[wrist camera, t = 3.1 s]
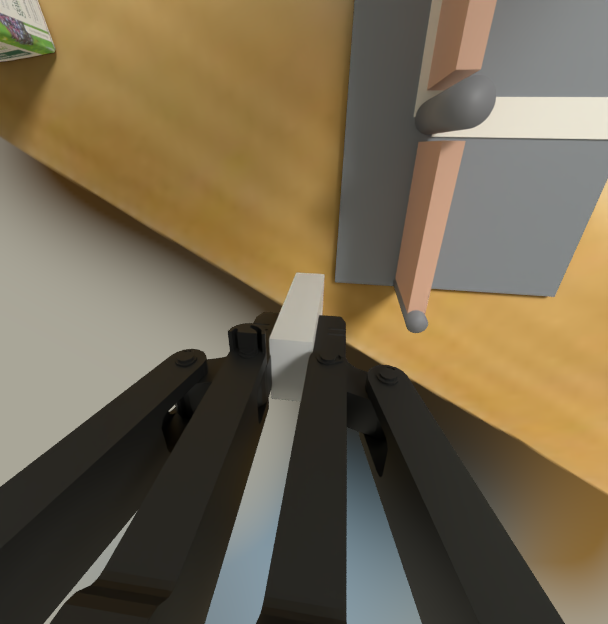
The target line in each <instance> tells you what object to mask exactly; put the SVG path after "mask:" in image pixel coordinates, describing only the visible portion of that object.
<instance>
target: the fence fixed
mask: <svg viewBox="0 0 608 624" xmlns="http://www.w3.org/2000/svg"><path fill="white" fill-rule="evenodd" d="M496 2H497V0H442V5H441V11H440V17H439V22H438V28H437V34H436V40H435V46H434V52H433V58H432V64H431V69H430V75H429V81H428V87H427V90H444V91H443V92H441V93H439V94H438V95H436V96H434V97H432V98H431V99H429V100H427V101H426V102H424V103H423V104H422V105H421V106H420V107H419V109H418V111H417V113H416V117H415V125H416V128H417V129H418V131H419V132H421V133H423V134H426V135H430V134H437V133H444V132H451V131H458V130H465V129H471V128H474V127H476V126H478V125H480V124H481V123H483V122H484V121H485V120H486V119H487V118H488V116H489V115H490V114H491V112H492V110H493V108H494V105H495V101H496V89H495V86H494V84H493V82H492V81H491V80H490V79H489V78H488V77H486V76H483V75H472V74H474V73H476V72H477V71H479V70H481V67H482V63H483V58H484V54H485V50H486V45H487V41H488V37H489V32H490V28H491V24H492V20H493V15H494V11H495V7H496ZM470 75H472V76H470Z"/></svg>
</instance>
